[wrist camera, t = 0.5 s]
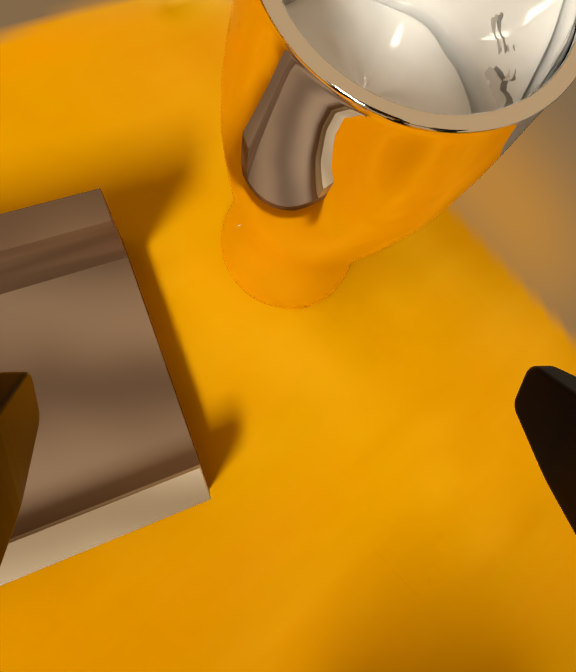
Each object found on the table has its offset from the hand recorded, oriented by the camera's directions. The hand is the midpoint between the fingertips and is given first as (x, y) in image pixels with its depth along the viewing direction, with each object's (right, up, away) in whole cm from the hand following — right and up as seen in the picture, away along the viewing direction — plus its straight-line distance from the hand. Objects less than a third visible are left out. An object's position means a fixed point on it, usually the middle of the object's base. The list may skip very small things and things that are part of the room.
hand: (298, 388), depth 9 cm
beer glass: (0, +5, +14) cm, 15 cm away
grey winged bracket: (-11, -2, +11) cm, 16 cm away
